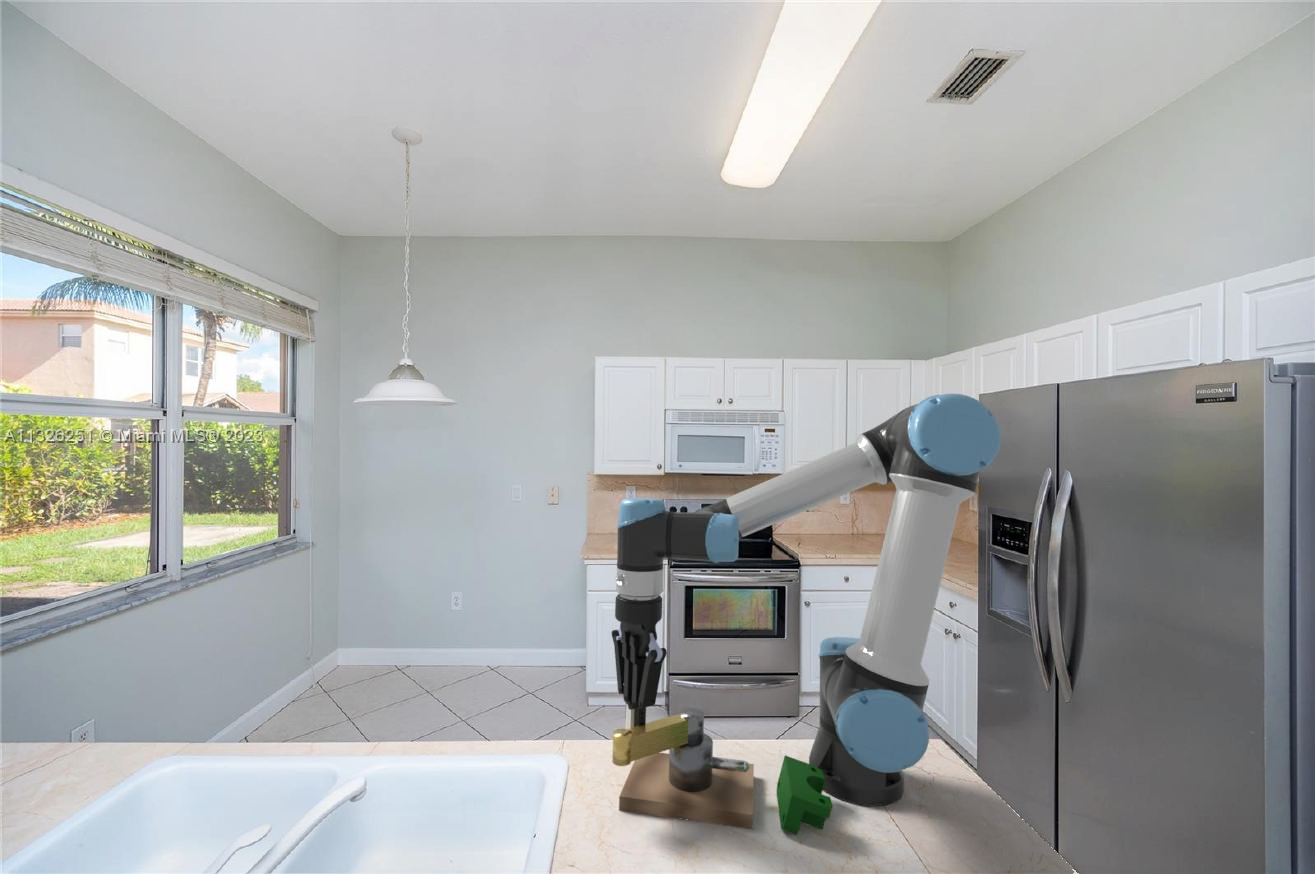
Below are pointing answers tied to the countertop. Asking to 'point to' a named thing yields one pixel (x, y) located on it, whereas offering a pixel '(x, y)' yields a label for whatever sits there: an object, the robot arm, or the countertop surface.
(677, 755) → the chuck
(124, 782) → the countertop surface
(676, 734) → the yellow bar
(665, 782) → the stand
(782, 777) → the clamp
